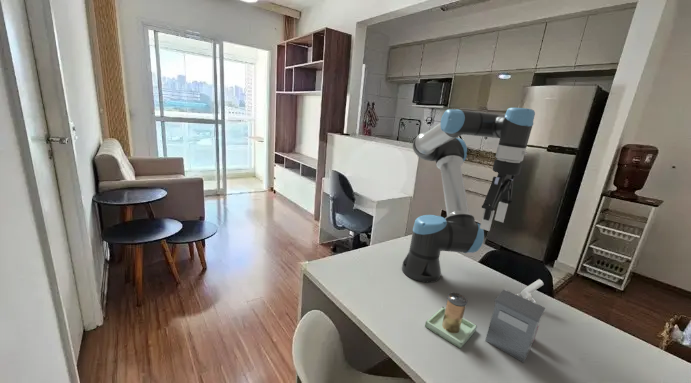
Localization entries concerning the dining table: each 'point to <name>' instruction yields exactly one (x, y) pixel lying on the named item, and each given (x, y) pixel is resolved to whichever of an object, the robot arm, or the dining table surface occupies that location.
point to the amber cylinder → (454, 312)
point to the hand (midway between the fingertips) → (492, 225)
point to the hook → (530, 290)
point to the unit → (514, 324)
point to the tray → (454, 338)
